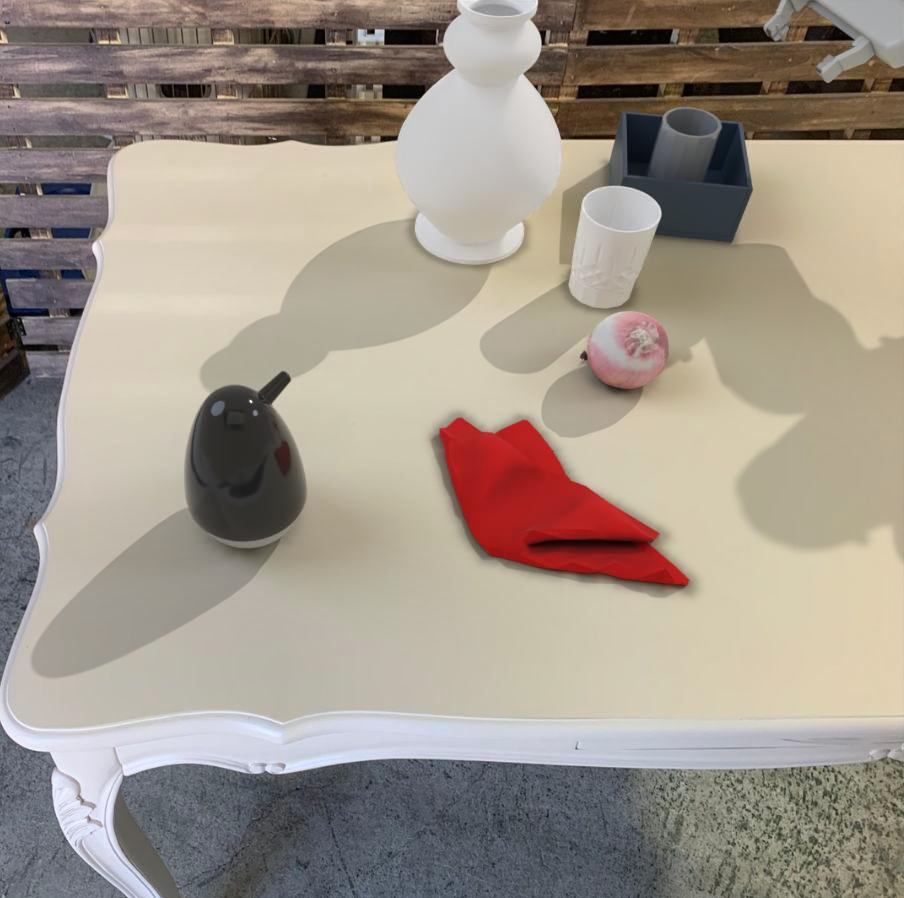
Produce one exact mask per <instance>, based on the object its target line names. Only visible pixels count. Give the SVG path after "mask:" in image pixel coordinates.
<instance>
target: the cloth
mask: <svg viewBox="0 0 904 898" xmlns="http://www.w3.org/2000/svg"><path fill="white" fill-rule="evenodd" d="M438 429H439V431H438V432H439V438H440V440H441V441H442V443H443V450H444V457H445V462H446V465H447V468H448V472H449V475H450V479H451V483H452V487H453V490H454V492H455V494H456V498H457V500H458V503H459V506H460V509H461V511H462V515H463V517H464V519H465V521H466V524H467V526H468V528H469V531H470V532H471V534H472V536H473V538H474V539H475V540H476V541H477V543H478V544H479V545H480V546H481V547H482V548H483V549H484V551H485V552H486V553H487V554H488V555H490V556H493V557H497V558H502V559H505V560H509V561H514V562H517V563H519V564H520V563H521V564H525V565H528V566H532V567H537V568H543V569H551V570H560V571H568V572H575V573H576V572H577V573H583V574H604V575H608V576H612V577H616V578H619V579H624V580H631V581H639V582H640V581H641V582H642V581H643V582H651V583H659V584H660V583H661V584H670V585H672V584H673V585H681V586H688V584H689V583H690V578H688V576H686V575H685V574H684V573H683V572H682V571H681V569H680V568H679V567H677V566H676V565H675V564H674V563H673V562H671V561H670V560H669V559H668V558H666V557H665V555H663V554H662V553H661V552H659V551H658V550H657V549H656V548H655V547H654V546H652V545H651V544H650V543H649V542H651V541H652V542H654V541H655V540H656V539H657V537H658V536H659V535H660V534H661V533H660V532H659V531H657V530H655V529H654V528H652V527H650V526H649V525H647V524H645V523H644V522H642V521H641V520H639V519H637V518H635V517H634V516H633V515H631V514H629V513H627V512H626V511H624V510H622V509H621V508H619V507H617V506H616V505H614V504H613V503H611V502H609V501H607V500H606V499H605V498H603V497H602V496H600V495H599V494H598V493H596V492H595V491H594V490H593V489H591V488H589V487H588V486H587V485H585V484H582V483H579V482H576V481H573V480H572V479H571V478H570V476H568V475H567V473H566V472H565V470H564V467H563V466H562V464H561V462H560V460H559V459H558V457H557V455H556V454H555V451H554V450H553V449H552V447H551V446H550V445H549V444H548V442H547V441H546V439H544V436H542V434H541V433H540V432H539V431H538V429H536V427H535V426H533V424H532V423H531V422H530V421H529V420H528V419H521V420H519V421H517V422H515V423H512V424H510V425H508V426H505V427H503V428H501V429H500V430H498V431H496V432H495V433H494V432H492V431H481V430H480V429H479V428H477V427H476V426H474V425H473V424H472V423H470V421H469V422H468V421H467V420H466V419H465V418H463V417H462V416H461V417H456V418H455V419H454V420H452V422H450V424H448V425H447V426H446V427H439V428H438Z"/></svg>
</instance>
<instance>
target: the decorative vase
mask: <svg viewBox="0 0 904 898" xmlns="http://www.w3.org/2000/svg"><path fill="white" fill-rule="evenodd" d="M538 5H539V0H456V8H457V11H458V12H459V13H460V14H459V15H458V16H457V17H455V18H454V19H453V20H452V21H451V23H449V24H448V26H447V28H446V29H445V32H444V35H443V39H442V45H443V47H442V48H443V52H444V55H445V56H446V58H447V60H448V62H449V63H450V64H451V65H452V66H453V69H452V70H450V71H449V72H447V73H446V74H445V75H443V76H442V78H440V79H439V80H438V81H437V82H436V83H434V84H433V85H432V86H431V87H430V88H429V89H428V90H427V91H426V92H425V93H424V94H423V95H422V96H421V97H420V98H419V100H417V102H416V104H415V105H414V106H413V107H412V109H411V110H410V111H409V113H408V115H407V116H406V118H405V120H404V121H403V123H402V125H401V128H400V130H399V133H398V136H397V140H396V146H395V154H394V161H395V162H394V163H395V164H394V165H395V170H396V176H397V179H398V181H399V184H400V185H401V188H402V190H403V191H404V193H405V194H406V196H407V198H408V199H409V200H410V201H411V203H412V204H413V205H414V206H415V208H416V209H417V210H418V214H417V216H416V218H415V221H414V222H415V223H414V232H415V233H414V234H415V236H416V239H417V241H418V243H420V245H421V246H422V247H423V248H424V249H425V250H426V251H428V252H429V253H430V254H432V255H434V256H435V257H438V258H439V259H442V260H445V261H448V262H452V263H454V264H455V263H456V264H461V265H486V264H487V265H488V264H492V263H496V262H499V261H502V260H504V259H506V258H508V257H509V256H511V255H513V254H514V253H515V252H516V251H517V250H518V249H519V248H520V247H521V245H522V243H523V240H524V237H525V235H524V234H525V226H524V223H523V222H524V221H525V220H526V219H528V218H529V217H531V215H533V213H535V212H536V211H537V210H538V209H540V208H541V207H542V206H543V205H544V204H545V202H546V201H547V200H548V199H549V197H550V196H551V195H552V193H553V192H554V191H555V188H556V187H557V183H558V182H559V178H560V175H561V172H562V166H563V164H562V163H563V144H562V138H561V135H560V131H559V127H558V124H557V122H556V120H555V118H554V116H553V114H552V112H551V110H550V108H549V107H548V104H547V103H546V101H545V99H544V98H543V96H542V95H541V94H540V93H539V91H538V90H537V88H536V87H535V86H534V85H533V84H532V83H531V82H530V81H529V79H528V78H527V77H526V76H525V75H524V74H525V73H526V72H527V71H528V70H530V69H531V68H532V67H533V66H534V64H535V63H536V62H537V61H538V59H539V57H540V54H541V51H542V38H541V37H542V36H541V33H540V31H539V30H538V27H537V26H536V24H535V23H534V22H533V21H532V20H531V19H533V17H534V16H536V14H537V11H538Z"/></svg>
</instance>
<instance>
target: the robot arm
mask: <svg viewBox="0 0 904 898" xmlns="http://www.w3.org/2000/svg"><path fill="white" fill-rule="evenodd" d="M805 6H808V7H809V8H811V9H812V10H813V11H814V12H816V13H817V14H819V15H820V16H821V17H823V18H824V19H826V20H827V21H828V22H830V23H831V24H832V25H834V26H835V27H837V28H838V30H841V31H842V32H843V33H845V34H846V35H847V36H849V37H850V38H851V39H853V42H852V43H851V46H852V48H850V49H848V50H846V51H843V52H841V53H840V54H838V55H835V56H833V55H832V54H831V53H828V55H826V56H825V57H824V58H823V60H822V61H821V62H819V63H817V65H815V69H814V70H815V72H816V74H817V76H818V77H819V78H820V79H821V80H822V81H824V82H825V83H826V84H828V83H831V82H832V81H833V80H834V79H835V78H837V77H838V76H839V75H840V74H841V73H842V72H846V71H848V70H851V69H854V68H856V67H859V66H861V65H864V64H866V63H867V62H868V61H869V60H870V59H872V58H873V56H876V57H877V58H879V59H881V61H882V62H884V63H885V64H887V65H888V66H890V67H891V68H893V69H898V68H902V67H904V0H780V2H779V4H778V6H777V10H776V11H775V14H774V15H772V17H771V18H770V19H769V20H767V22H766V23H764V25H763V30H764V33H765V34H766V36H767V37H769V38H770V39H772V40H773V41H774V42H777V41H779V40H780V39H781V38H782V36H784V35H785V34H786V33H788V32H789V30H790V28H789V26H788V23H789V20H790V18H791V16H792V15H793V13H794V11H795V12H800V10H801V9H803V8H804V7H805Z"/></svg>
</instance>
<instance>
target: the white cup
mask: <svg viewBox="0 0 904 898" xmlns="http://www.w3.org/2000/svg"><path fill="white" fill-rule="evenodd" d="M660 219H661V209H660V206H659V205H658V203H657V202H656V201H655V200H654V199H653V198H652V197H650V196H649V195H647V194H646V193H644V192H642V191H639V190H636V189H633V188H629V187H623V186H609V185H606V186H601V187H598V188H594V189H593V190H591V191H589V192H588V193H586V195H584V197H583V199H582V200H581V207H580V211H579V217H578V223H577V229H576V234H575V240H574V244H573V251H572V257H571V269H570V274H569V280H568V285H567V286H568V289H569V291H570V294H571V296H572V297H573V298H574V299H576V300H577V301H578V302H579V303H581V304H583V305H586V306H589V307H591V308H594V309H604V310H605V309H606V310H608V309H612V308H617V307H621V306H622V305H623V304H625V303H626V302H627V301H628V300H629V299H630V297H631V294H632V291H633V288H634V286H635V283H636V281H637V280H638V277H639V276H640V273H641V271H642V268H643V266H644V263H645V260H646V258H647V256H648V254H649V250H650V249H651V245H652V242H653V240H654V237H655V236H656V235H655V232H656V229H657V227H658V224H659V221H660Z"/></svg>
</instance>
